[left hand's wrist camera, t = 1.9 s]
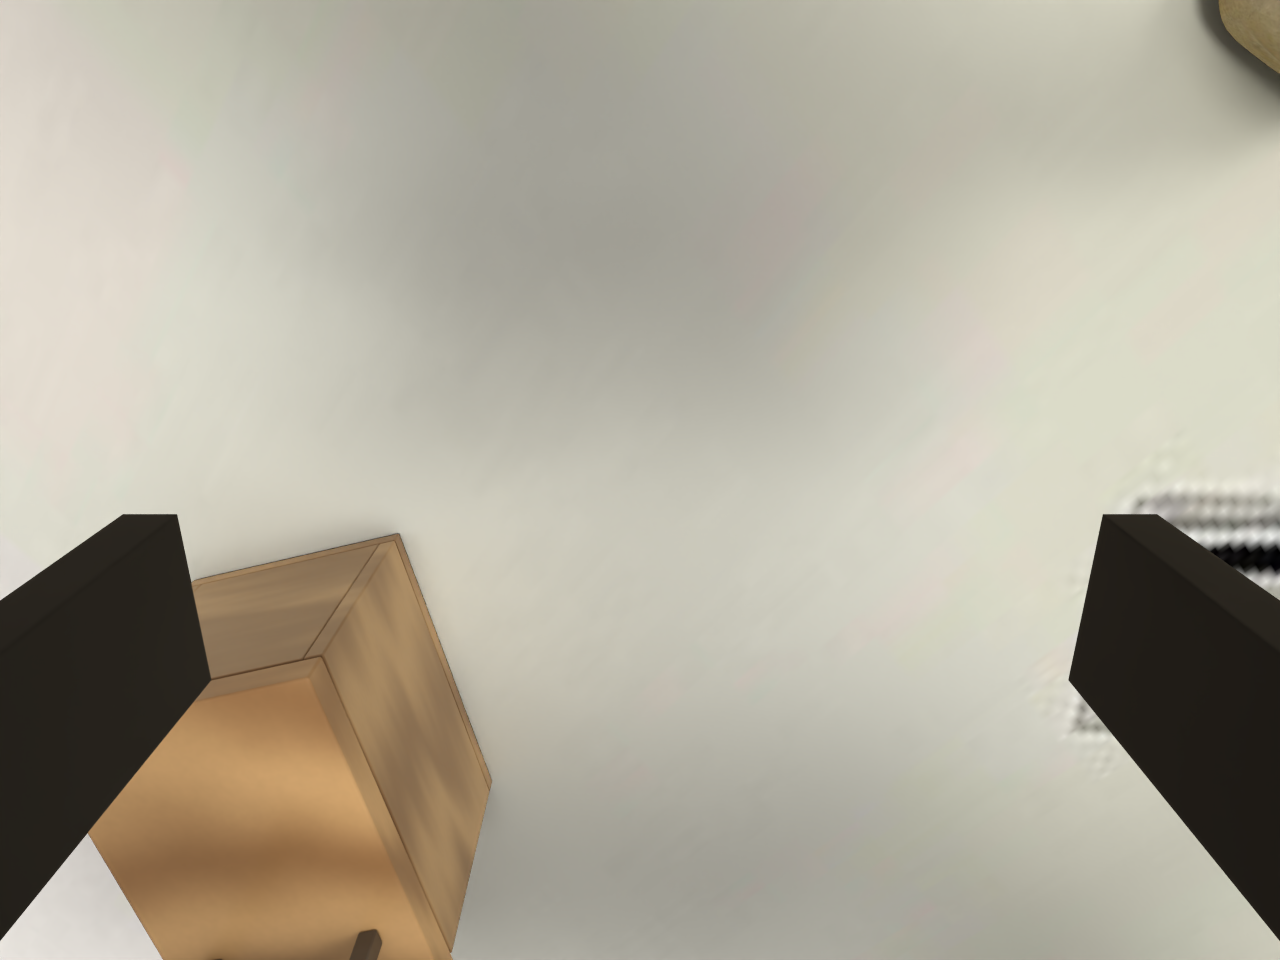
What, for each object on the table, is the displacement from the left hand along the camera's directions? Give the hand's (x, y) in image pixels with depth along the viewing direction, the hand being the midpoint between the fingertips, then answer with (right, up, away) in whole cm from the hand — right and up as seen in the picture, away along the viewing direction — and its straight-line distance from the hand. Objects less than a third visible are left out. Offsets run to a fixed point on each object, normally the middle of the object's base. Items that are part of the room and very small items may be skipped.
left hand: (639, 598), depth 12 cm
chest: (-13, -8, +27) cm, 31 cm away
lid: (-13, -11, +18) cm, 25 cm away
